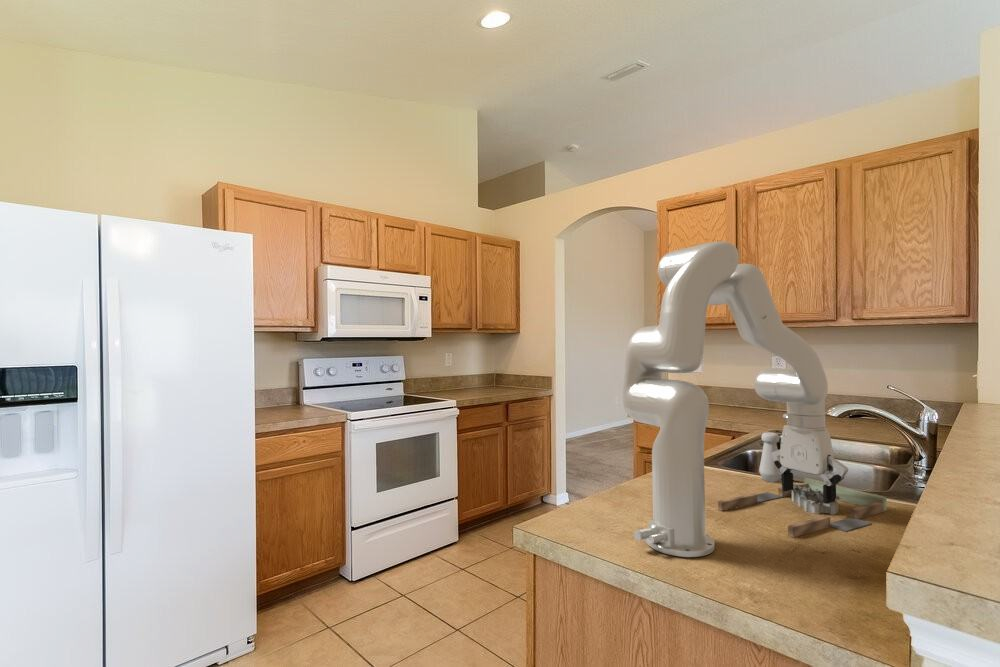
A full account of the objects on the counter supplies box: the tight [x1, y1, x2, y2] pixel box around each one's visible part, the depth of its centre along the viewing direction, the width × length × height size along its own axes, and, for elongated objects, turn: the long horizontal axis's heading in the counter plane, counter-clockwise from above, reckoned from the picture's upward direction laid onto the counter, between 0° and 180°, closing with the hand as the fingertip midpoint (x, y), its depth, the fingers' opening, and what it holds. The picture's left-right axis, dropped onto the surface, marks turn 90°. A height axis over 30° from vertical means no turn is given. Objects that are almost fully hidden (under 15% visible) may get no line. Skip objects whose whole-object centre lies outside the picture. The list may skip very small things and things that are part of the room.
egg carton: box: [791, 486, 841, 516], centre depth 116 cm, size 11×8×4 cm
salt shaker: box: [758, 431, 782, 483], centre depth 138 cm, size 6×6×13 cm
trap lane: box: [717, 477, 888, 539], centre depth 114 cm, size 32×24×3 cm
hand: (807, 496), depth 115 cm, fingers open, 9 cm apart
